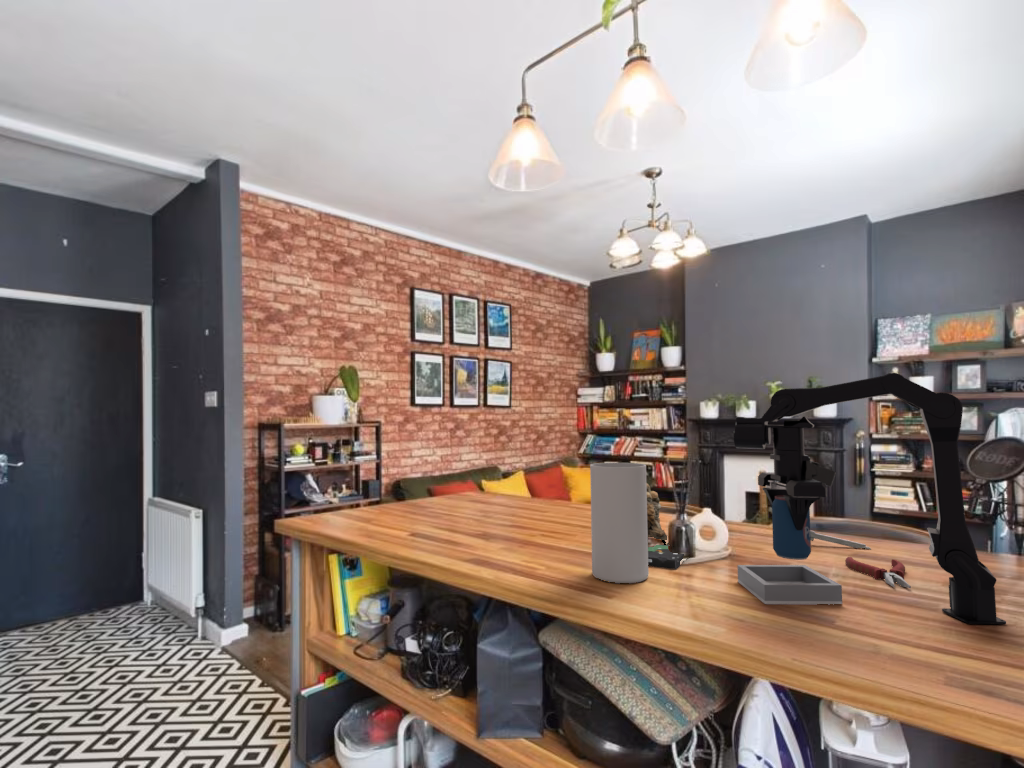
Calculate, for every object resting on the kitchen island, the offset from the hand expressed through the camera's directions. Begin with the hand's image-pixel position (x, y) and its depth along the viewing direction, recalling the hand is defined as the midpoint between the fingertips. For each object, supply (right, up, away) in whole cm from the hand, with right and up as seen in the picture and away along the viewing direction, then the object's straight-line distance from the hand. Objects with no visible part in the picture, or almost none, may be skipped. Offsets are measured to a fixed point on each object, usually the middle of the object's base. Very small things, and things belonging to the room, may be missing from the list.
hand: (791, 526), depth 114 cm
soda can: (0, -6, 0) cm, 6 cm away
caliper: (+29, -16, +39) cm, 51 cm away
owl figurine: (-18, -17, +46) cm, 52 cm away
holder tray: (-1, -13, -1) cm, 13 cm away
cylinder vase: (-33, -15, +12) cm, 38 cm away
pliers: (+25, -15, +11) cm, 31 cm away
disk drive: (-19, -16, +26) cm, 36 cm away
